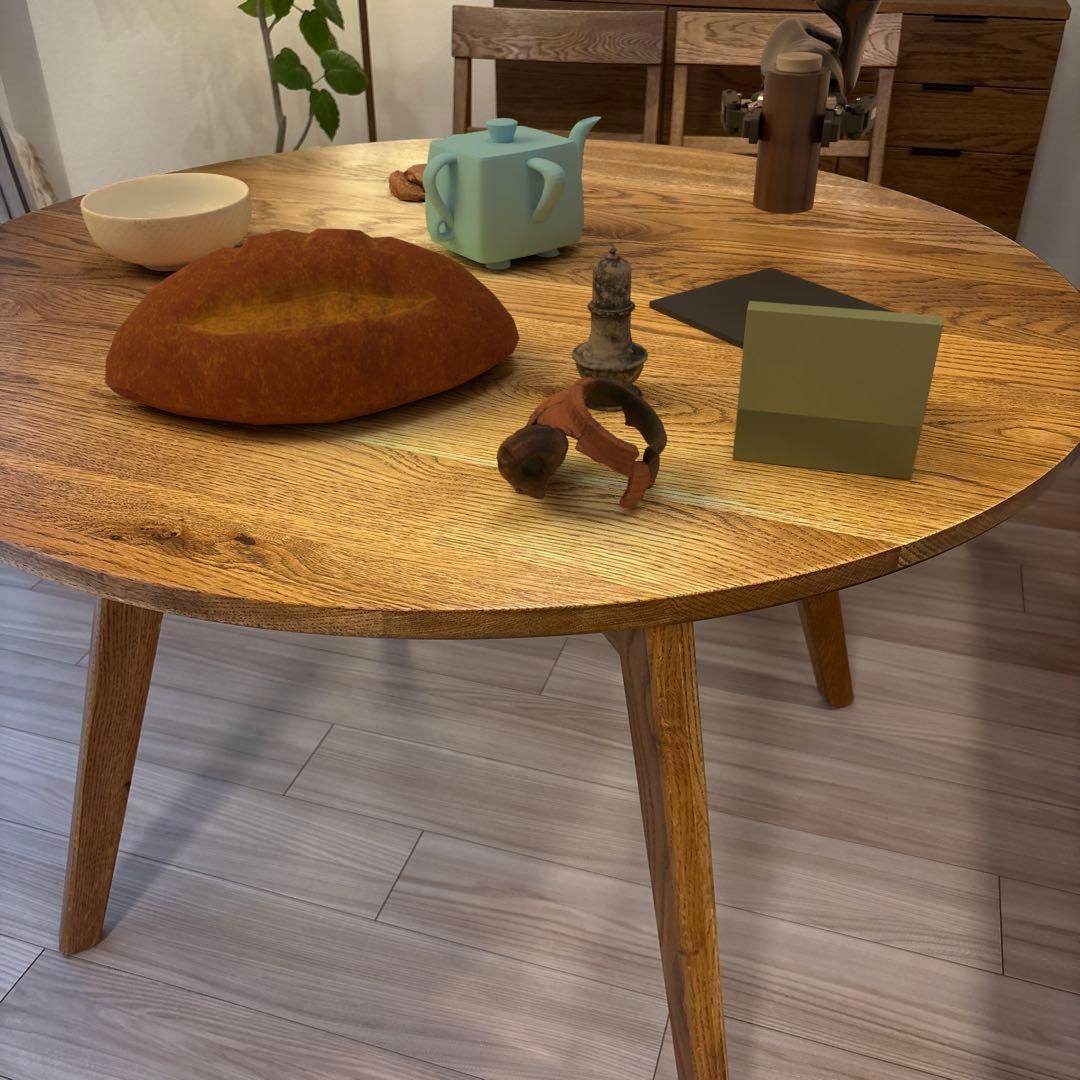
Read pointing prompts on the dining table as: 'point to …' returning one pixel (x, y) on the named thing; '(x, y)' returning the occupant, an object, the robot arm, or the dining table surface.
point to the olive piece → (834, 387)
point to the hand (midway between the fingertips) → (790, 132)
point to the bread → (308, 330)
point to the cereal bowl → (168, 218)
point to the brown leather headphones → (583, 439)
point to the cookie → (408, 183)
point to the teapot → (506, 191)
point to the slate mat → (728, 301)
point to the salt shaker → (611, 329)
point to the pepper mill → (791, 133)
